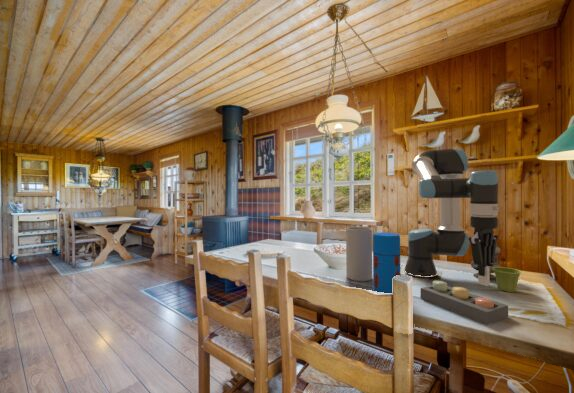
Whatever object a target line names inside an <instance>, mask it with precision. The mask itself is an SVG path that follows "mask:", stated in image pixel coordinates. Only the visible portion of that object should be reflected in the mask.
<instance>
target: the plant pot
mask: <svg viewBox="0 0 574 393" xmlns="http://www.w3.org/2000/svg"><path fill="white" fill-rule="evenodd" d="M493 270H494V273H493V274H495V275H494V276H496V280H495V282H496V285H497V287H496V288H497V289H498V290H500V291H503V292H507V293H515V292H517V286H518V281H519V277H520V274H522V271H521V270H518V269H516V268H511V267H507V266H506V267H504V266H501V267H494V268H493Z"/></svg>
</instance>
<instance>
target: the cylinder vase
mask: <svg viewBox="0 0 574 393" xmlns="http://www.w3.org/2000/svg"><path fill="white" fill-rule="evenodd" d="M372 230H373V228H371V227H366V226H350V227H349V226H348V227H346V228H345V239H346V241H345V243H346V245H345V248H346V249H345V251H346V252H345V254H346V256H345V257H346V263H345V264H346V267H345V268H346V270H345V271H346V277H347V279H349V280H351V281H356V282H368V281H371V280H372V279H373V231H372Z"/></svg>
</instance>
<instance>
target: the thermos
mask: <svg viewBox="0 0 574 393" xmlns="http://www.w3.org/2000/svg"><path fill="white" fill-rule="evenodd" d="M400 236H401V235H400V234H399V233H395V232H374V233H373V232H372V279H373V280H372V282H373V283H372V284H373V292H374V291H377V292H384V293H392V278H393V277H394V276H396V275H400V276H401V237H400Z"/></svg>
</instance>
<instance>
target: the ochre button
mask: <svg viewBox="0 0 574 393" xmlns="http://www.w3.org/2000/svg"><path fill="white" fill-rule="evenodd" d="M469 291H470V290H469V289H468V288H466V287H462V286H453V288H452V296H453V297H456V298H459V299H462V300H467V299H469V293H470V292H469Z"/></svg>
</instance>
